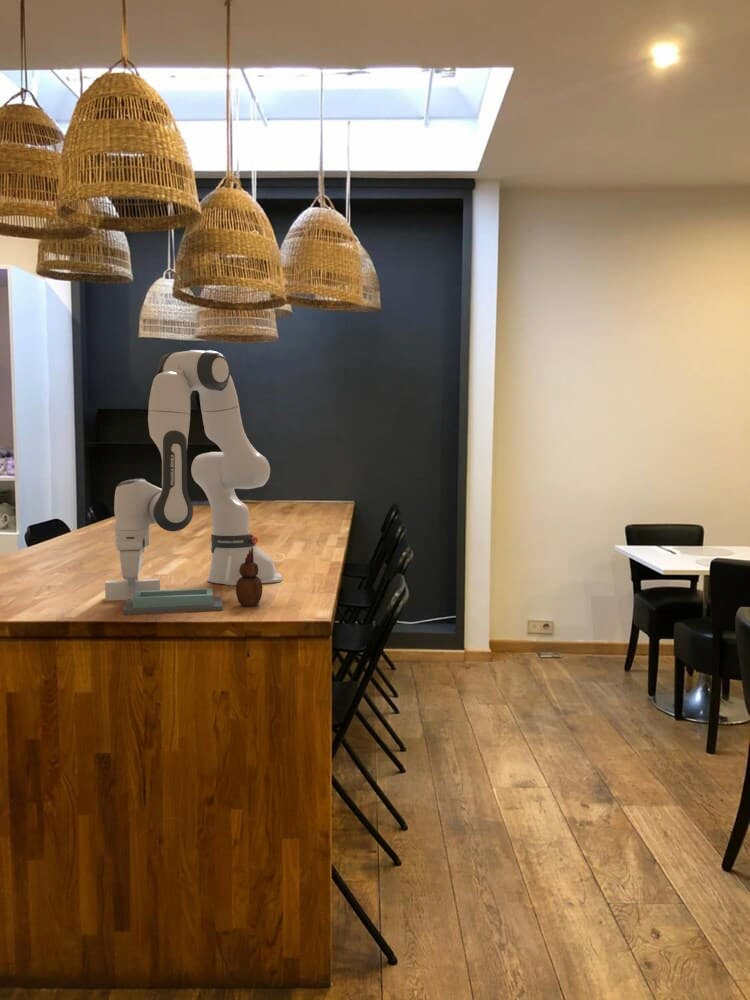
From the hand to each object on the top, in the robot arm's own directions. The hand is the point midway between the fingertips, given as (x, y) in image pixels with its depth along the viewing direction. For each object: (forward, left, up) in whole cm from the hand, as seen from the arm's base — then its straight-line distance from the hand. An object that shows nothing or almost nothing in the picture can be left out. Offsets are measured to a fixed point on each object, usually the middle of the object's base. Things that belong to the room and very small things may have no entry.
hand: (133, 590), depth 205 cm
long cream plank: (0, 0, -2) cm, 2 cm away
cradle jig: (-11, +13, -2) cm, 17 cm away
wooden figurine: (-30, +15, -2) cm, 34 cm away
